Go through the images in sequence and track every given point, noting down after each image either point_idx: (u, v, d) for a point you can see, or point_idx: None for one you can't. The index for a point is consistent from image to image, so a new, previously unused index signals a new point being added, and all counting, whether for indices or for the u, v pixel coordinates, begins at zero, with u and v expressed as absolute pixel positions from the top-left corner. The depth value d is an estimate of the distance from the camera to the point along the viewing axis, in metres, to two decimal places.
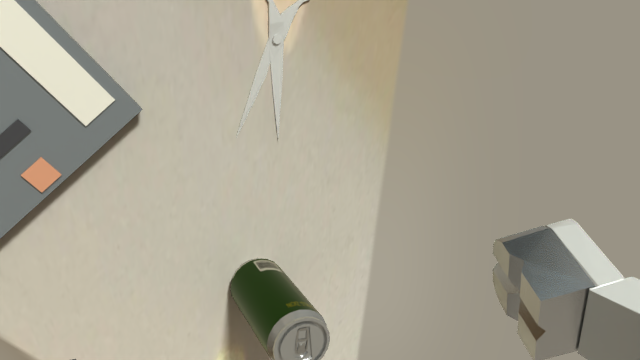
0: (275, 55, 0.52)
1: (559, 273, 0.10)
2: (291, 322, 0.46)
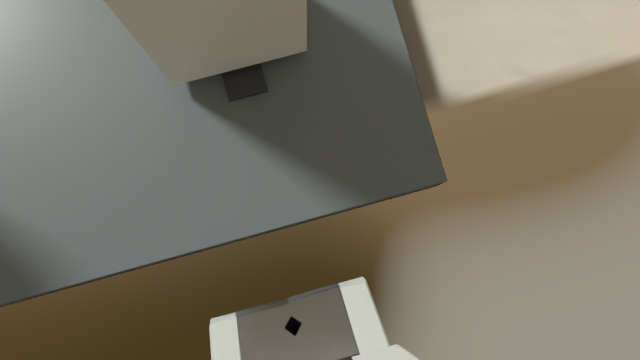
0: None
1: (330, 338, 0.10)
2: None
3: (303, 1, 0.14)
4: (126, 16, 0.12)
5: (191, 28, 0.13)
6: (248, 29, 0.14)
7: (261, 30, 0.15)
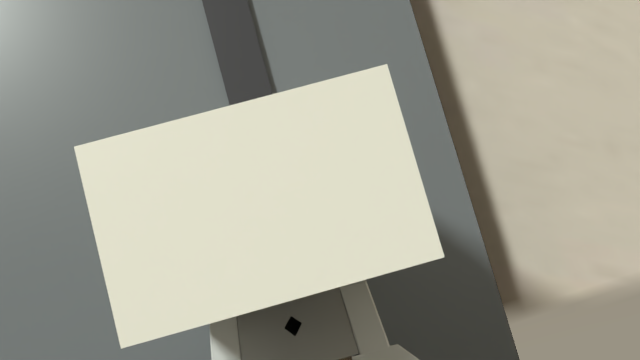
0: None
1: (329, 338, 0.10)
2: None
3: None
4: None
5: None
6: None
7: None
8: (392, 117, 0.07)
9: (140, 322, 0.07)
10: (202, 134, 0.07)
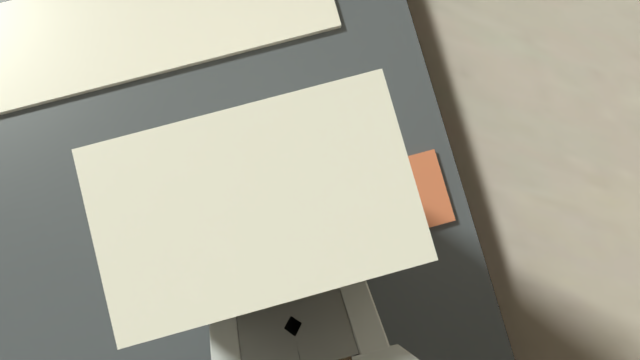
0: None
1: (329, 338, 0.10)
2: None
3: None
4: None
5: None
6: None
7: None
8: (387, 121, 0.07)
9: (137, 324, 0.07)
10: (198, 137, 0.07)
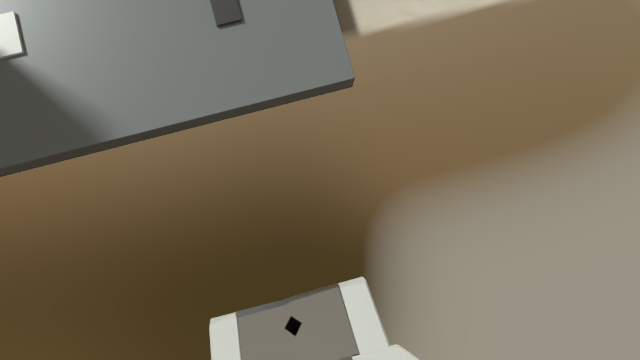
0: None
1: (330, 338, 0.10)
2: None
3: None
4: None
5: None
6: None
7: None
8: None
9: None
10: None
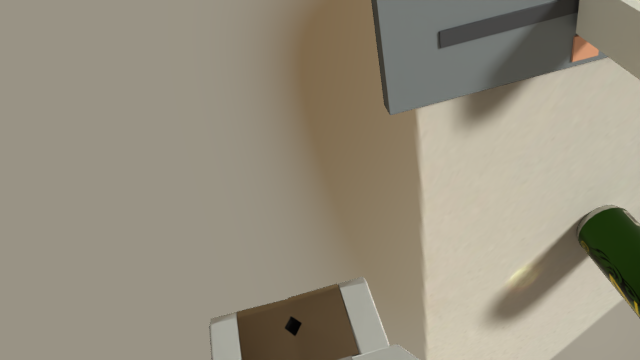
0: None
1: (330, 338, 0.10)
2: None
3: (604, 53, 0.38)
4: (627, 7, 0.35)
5: (611, 15, 0.36)
6: (599, 28, 0.38)
7: (597, 31, 0.38)
8: None
9: None
10: None
